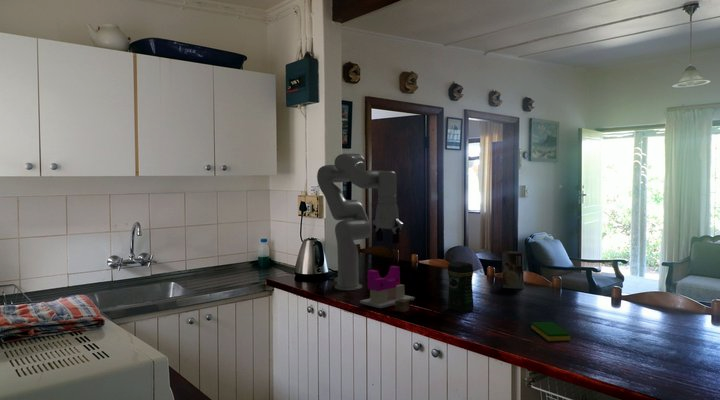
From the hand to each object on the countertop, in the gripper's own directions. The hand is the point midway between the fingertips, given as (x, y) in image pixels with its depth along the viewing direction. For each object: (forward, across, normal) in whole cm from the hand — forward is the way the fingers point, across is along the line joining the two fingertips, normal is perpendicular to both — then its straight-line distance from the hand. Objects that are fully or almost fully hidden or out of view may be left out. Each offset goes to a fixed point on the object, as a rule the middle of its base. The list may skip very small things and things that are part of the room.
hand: (387, 242), depth 215 cm
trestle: (+24, +1, -2) cm, 24 cm away
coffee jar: (+24, +30, +10) cm, 40 cm away
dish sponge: (+24, +69, +7) cm, 74 cm away
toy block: (+19, +1, -2) cm, 19 cm away
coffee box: (+24, +22, +58) cm, 67 cm away
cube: (+24, +16, -7) cm, 30 cm away
